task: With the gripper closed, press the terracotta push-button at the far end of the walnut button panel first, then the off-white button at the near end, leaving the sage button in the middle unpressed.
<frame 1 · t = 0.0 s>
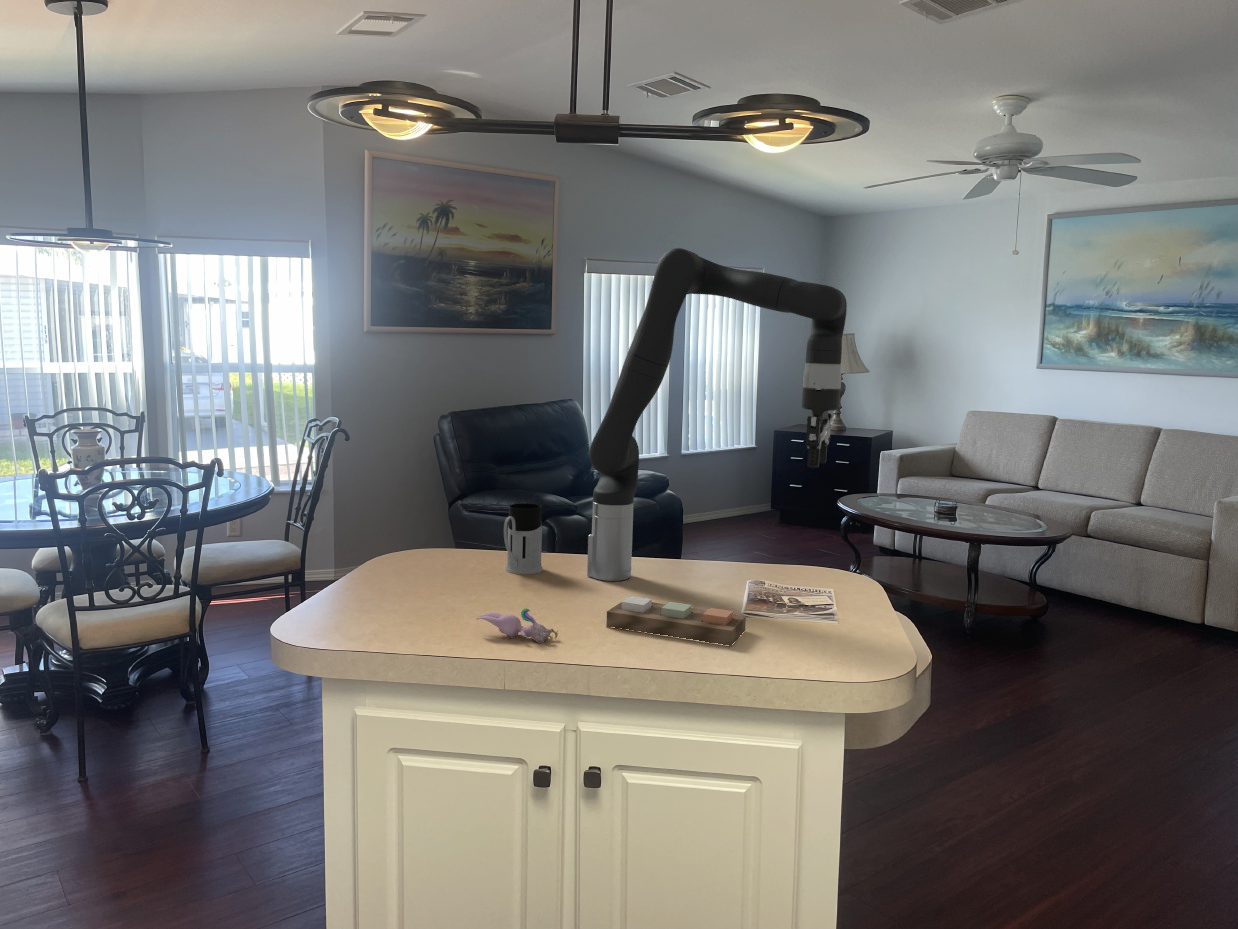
hand: (816, 465, 184), 29 cm above the table, fingers open, 8 cm apart
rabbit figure: (516, 638, 160), on the table
glass holder: (518, 573, 206), on the table
terracotta button: (717, 619, 164), point 3 cm above the table, slide at 0.0 cm
offwhite button: (636, 607, 170), point 3 cm above the table, slide at 0.0 cm
button panel: (675, 629, 168), on the table
sage button: (676, 613, 167), point 3 cm above the table, slide at 0.0 cm
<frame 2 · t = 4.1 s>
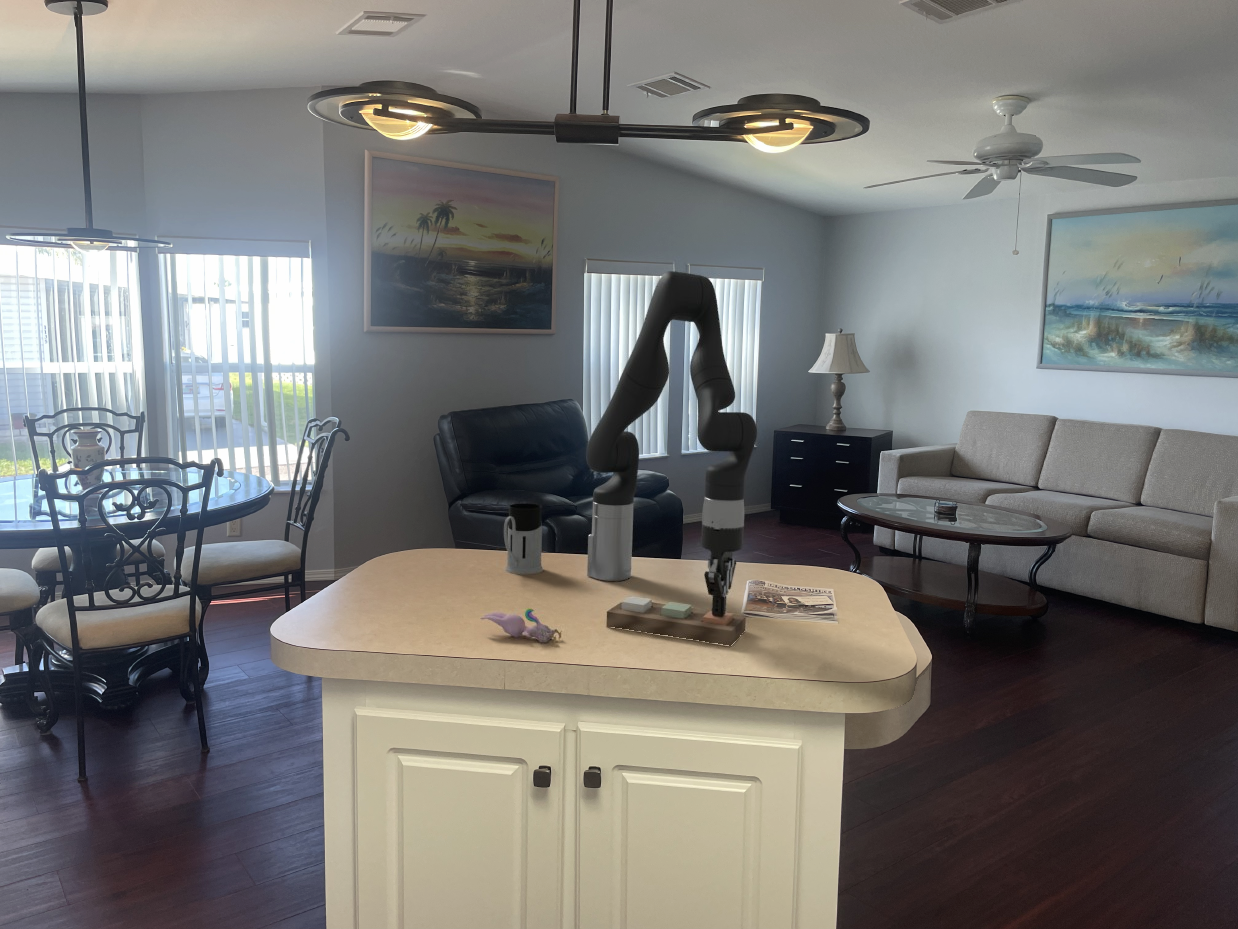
hand: (718, 615, 164), 4 cm above the table, fingers closed
terracotta button: (717, 622, 164), point 2 cm above the table, slide at 0.6 cm, touching gripper
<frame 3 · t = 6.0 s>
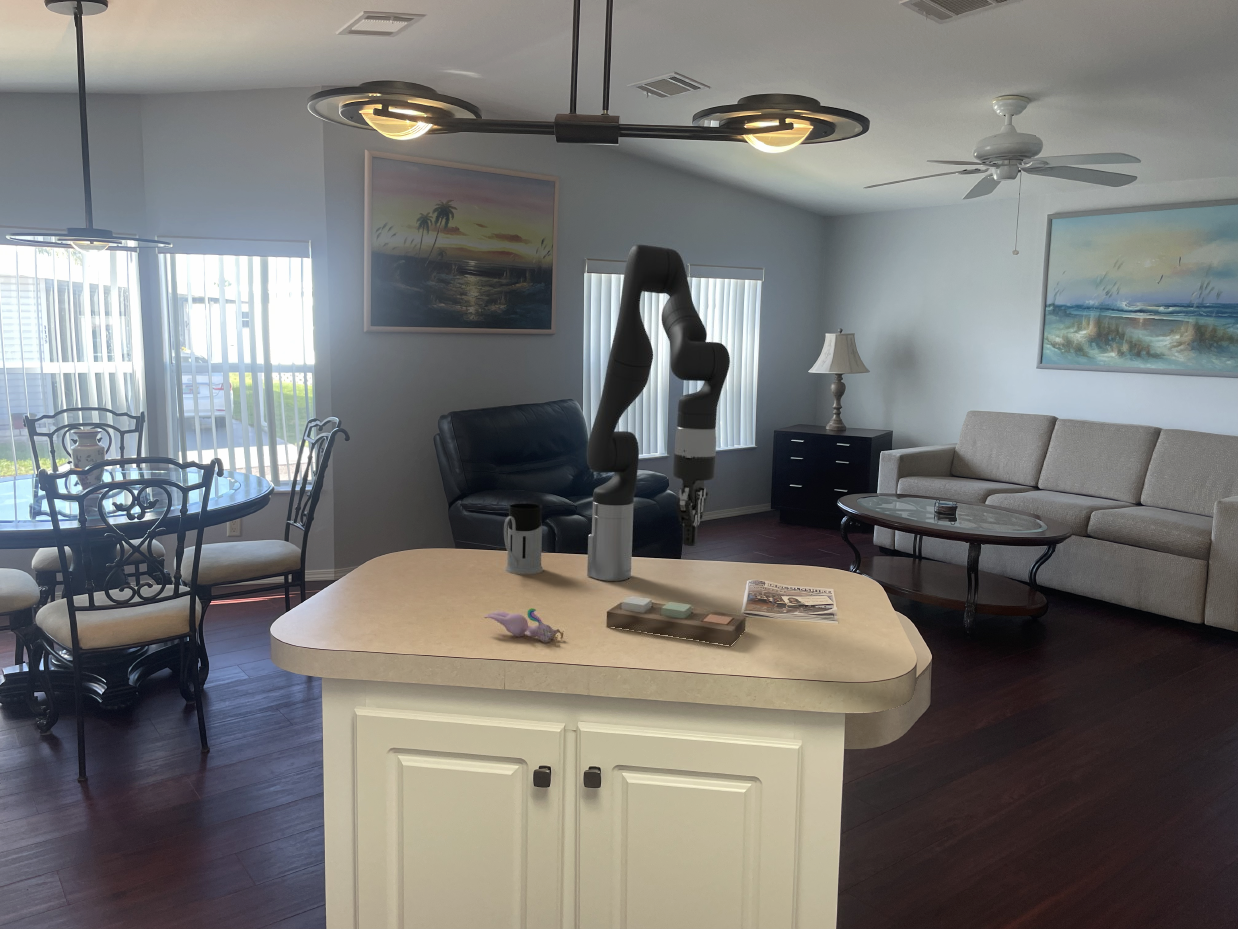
hand: (689, 544, 166), 16 cm above the table, fingers closed
terracotta button: (717, 626, 164), point 2 cm above the table, slide at 1.2 cm
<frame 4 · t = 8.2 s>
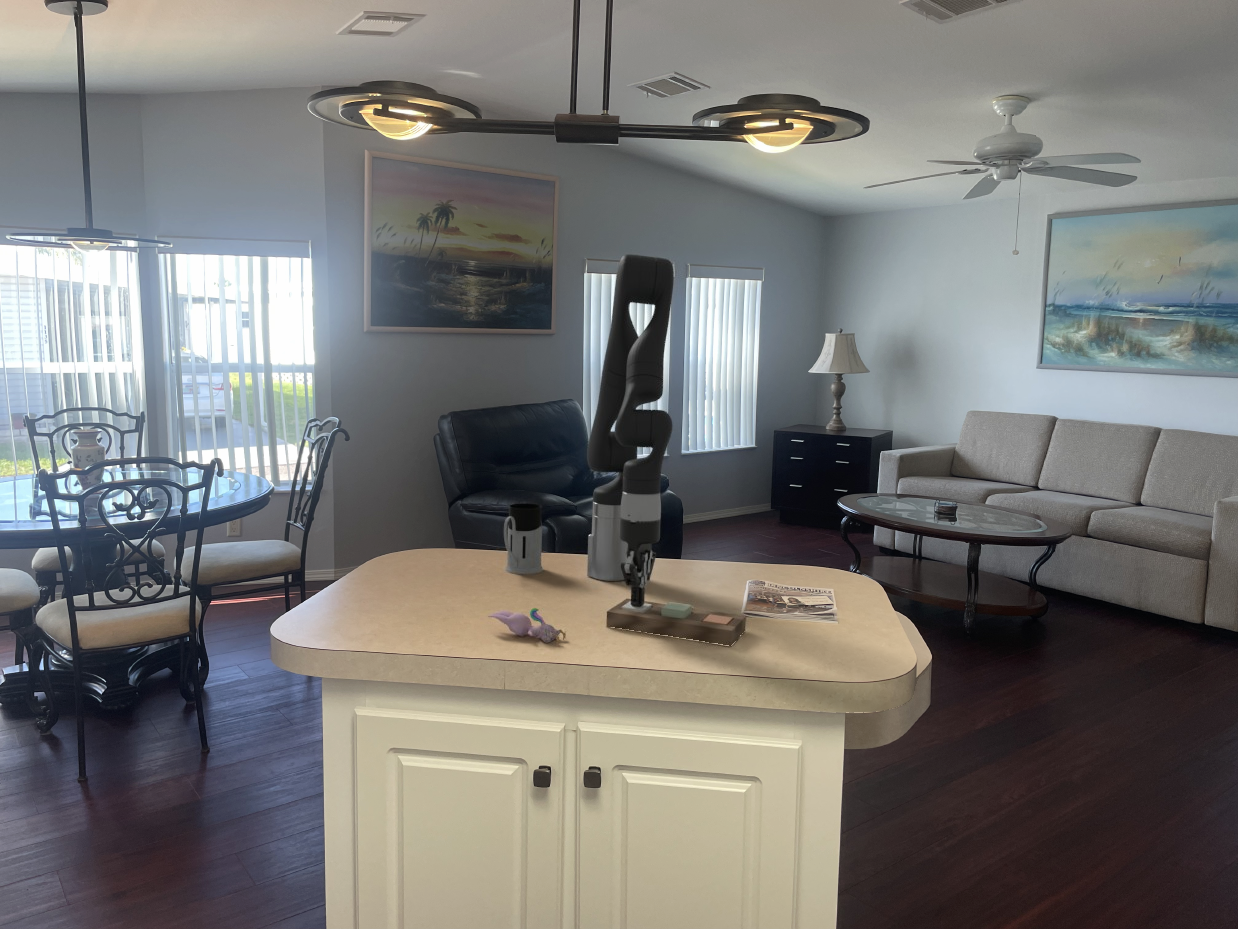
hand: (637, 605, 170), 3 cm above the table, fingers closed
offwhite button: (636, 612, 170), point 2 cm above the table, slide at 1.0 cm, touching gripper
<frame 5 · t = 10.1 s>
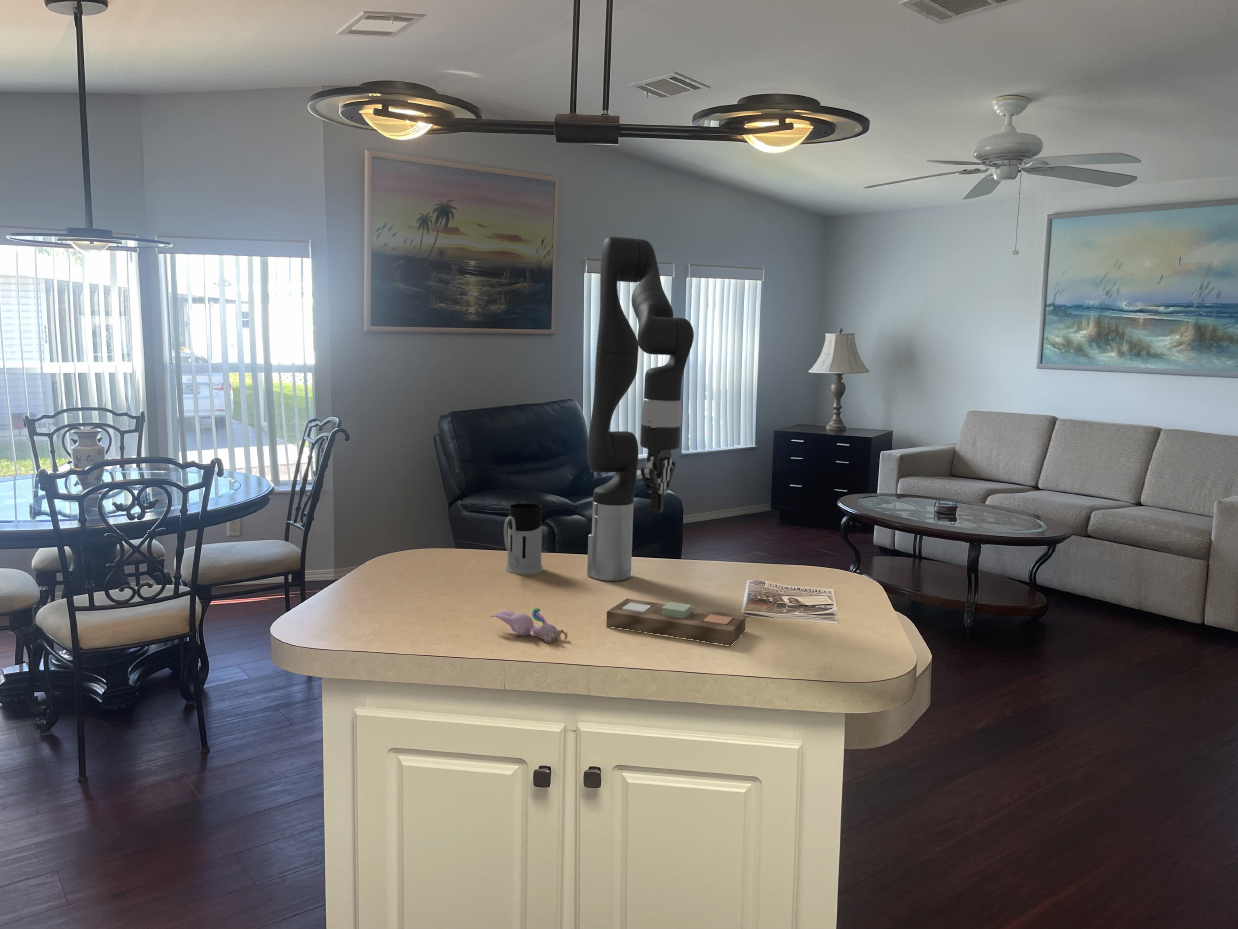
hand: (656, 512, 174), 21 cm above the table, fingers closed
offwhite button: (636, 614, 171), point 2 cm above the table, slide at 1.3 cm
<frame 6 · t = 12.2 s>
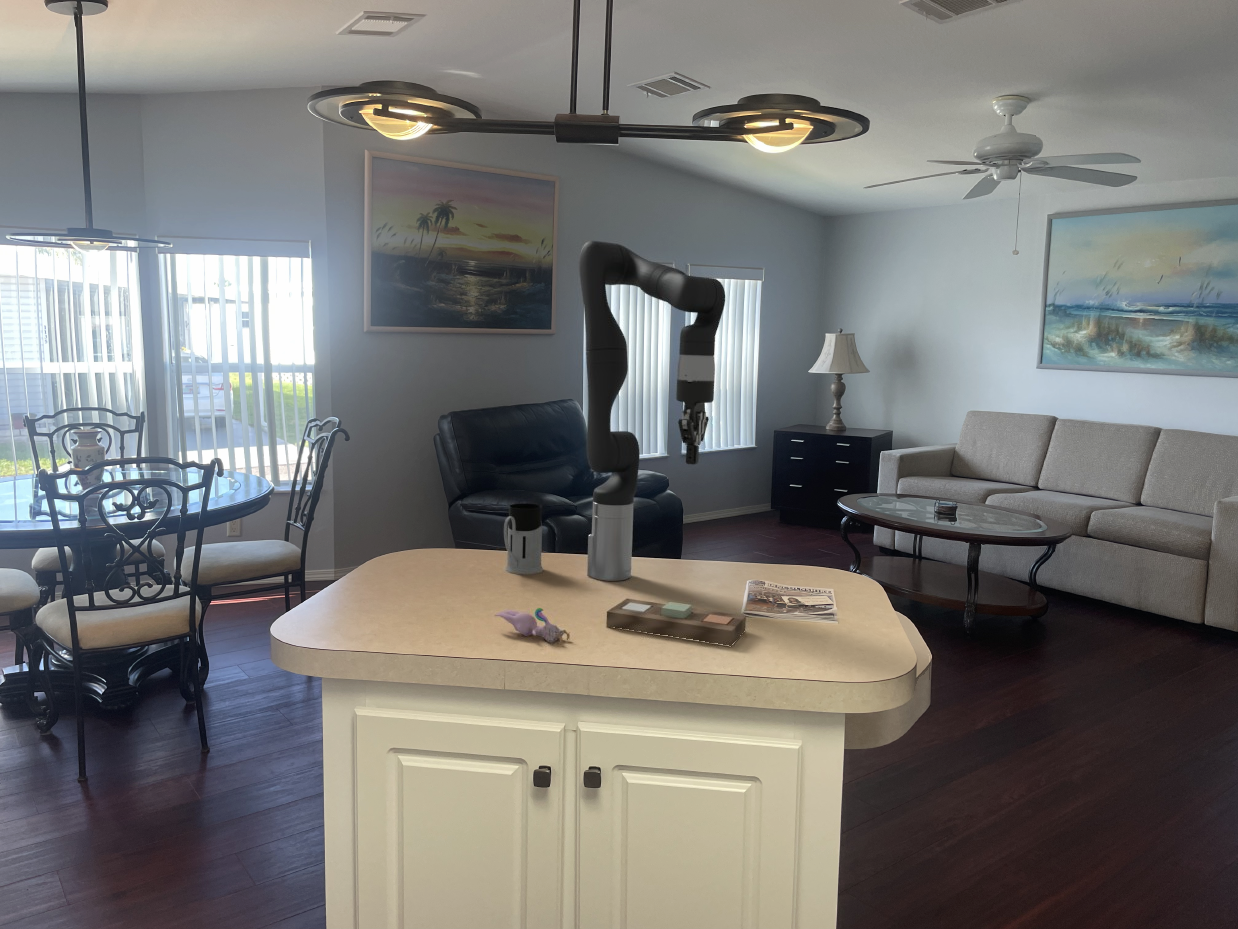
hand: (691, 463, 182), 29 cm above the table, fingers closed
at the end: terracotta button slide at 1.2 cm; offwhite button slide at 1.3 cm; sage button slide at 0.0 cm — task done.
